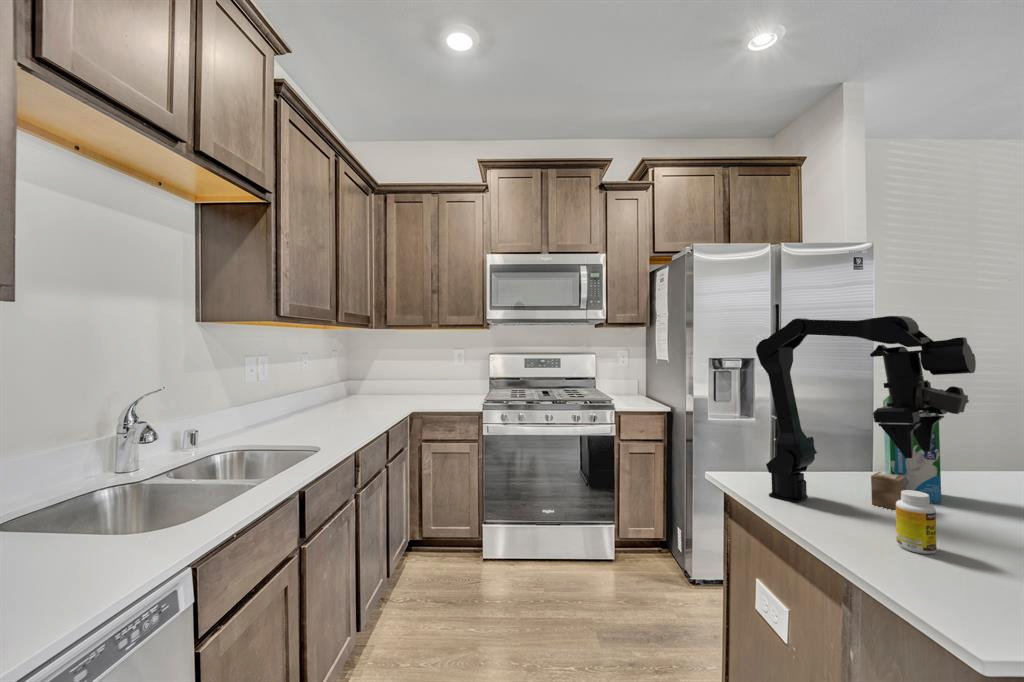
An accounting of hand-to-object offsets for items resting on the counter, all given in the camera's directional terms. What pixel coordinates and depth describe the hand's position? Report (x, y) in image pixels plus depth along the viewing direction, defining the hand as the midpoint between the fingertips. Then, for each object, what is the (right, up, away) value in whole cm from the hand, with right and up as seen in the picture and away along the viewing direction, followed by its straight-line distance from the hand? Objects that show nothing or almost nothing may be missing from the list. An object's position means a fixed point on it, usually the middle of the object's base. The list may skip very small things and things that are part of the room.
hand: (917, 454), depth 91 cm
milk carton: (+17, -15, +21) cm, 31 cm away
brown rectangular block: (+6, -16, +14) cm, 22 cm away
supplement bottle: (-6, -16, -7) cm, 18 cm away
